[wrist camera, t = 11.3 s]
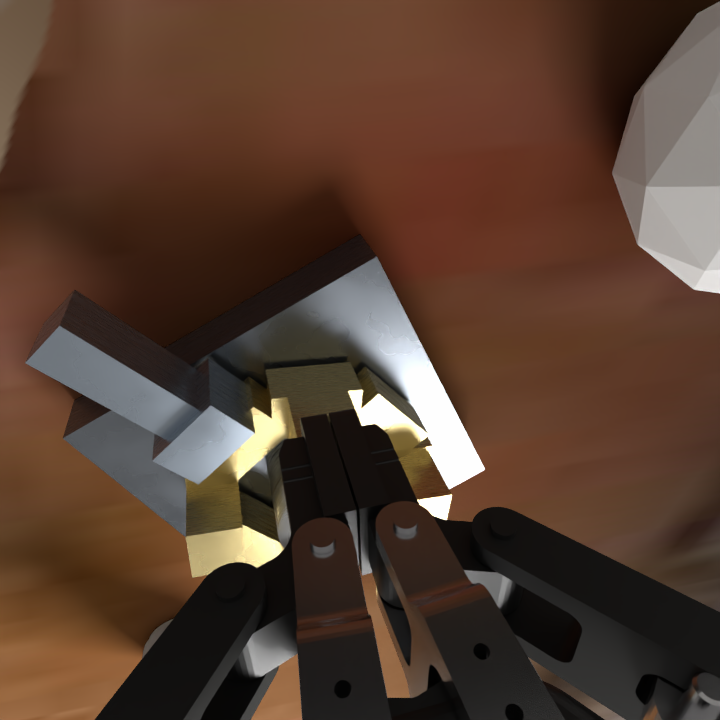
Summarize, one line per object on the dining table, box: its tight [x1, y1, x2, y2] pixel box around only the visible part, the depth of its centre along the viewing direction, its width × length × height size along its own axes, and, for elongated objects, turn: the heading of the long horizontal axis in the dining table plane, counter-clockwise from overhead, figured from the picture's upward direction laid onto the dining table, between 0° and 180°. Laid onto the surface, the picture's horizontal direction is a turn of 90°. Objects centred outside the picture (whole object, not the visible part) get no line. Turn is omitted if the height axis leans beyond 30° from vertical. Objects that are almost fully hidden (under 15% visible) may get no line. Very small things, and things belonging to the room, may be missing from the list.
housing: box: [63, 235, 485, 548], centre depth 29 cm, size 17×17×8 cm
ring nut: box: [25, 290, 452, 578], centre depth 25 cm, size 21×12×5 cm, turn 41°
